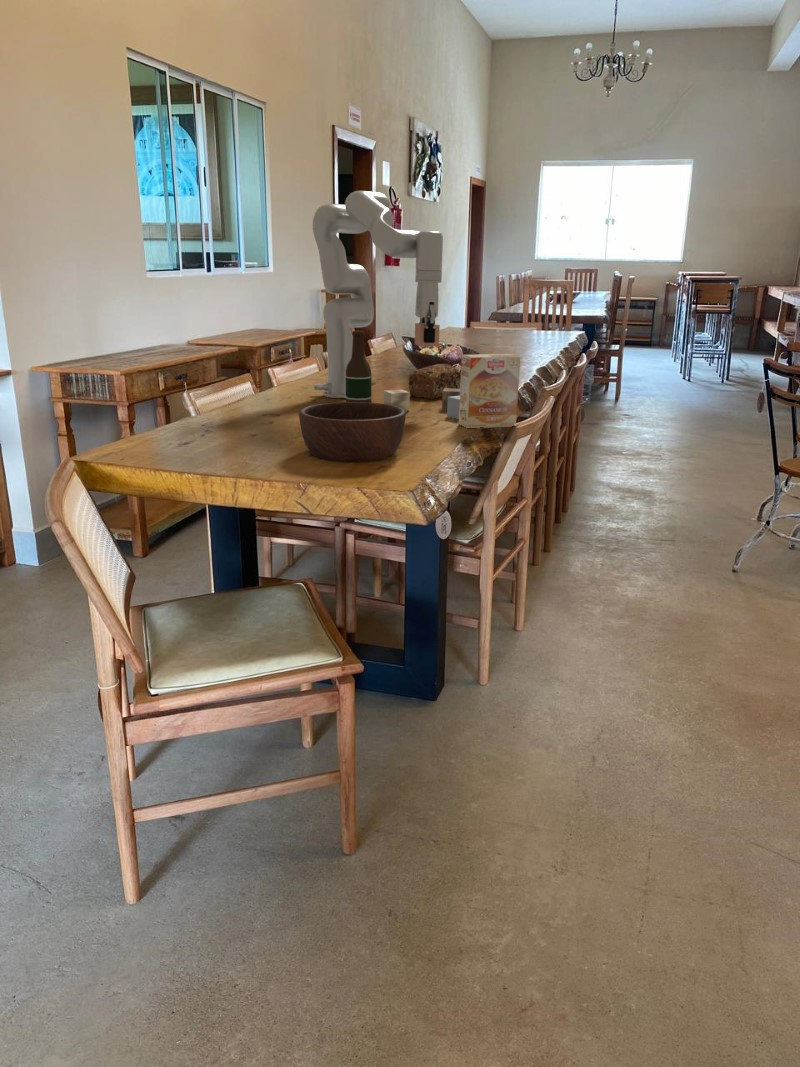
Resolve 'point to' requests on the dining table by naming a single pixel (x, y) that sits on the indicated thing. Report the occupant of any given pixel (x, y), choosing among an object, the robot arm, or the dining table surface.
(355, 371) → the beer bottle
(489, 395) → the coffeecake box
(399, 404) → the beech block
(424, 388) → the bread
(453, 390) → the walnut block
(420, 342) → the terracotta block
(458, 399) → the slate block
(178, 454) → the dining table surface
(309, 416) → the wooden bowl
